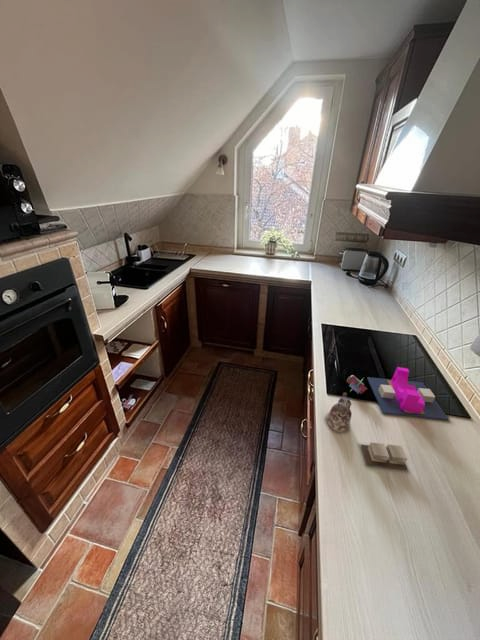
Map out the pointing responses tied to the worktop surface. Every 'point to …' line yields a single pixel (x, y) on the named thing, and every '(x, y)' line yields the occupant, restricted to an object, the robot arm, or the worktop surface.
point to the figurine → (340, 414)
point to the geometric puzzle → (356, 384)
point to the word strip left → (385, 456)
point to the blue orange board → (391, 406)
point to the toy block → (406, 392)
